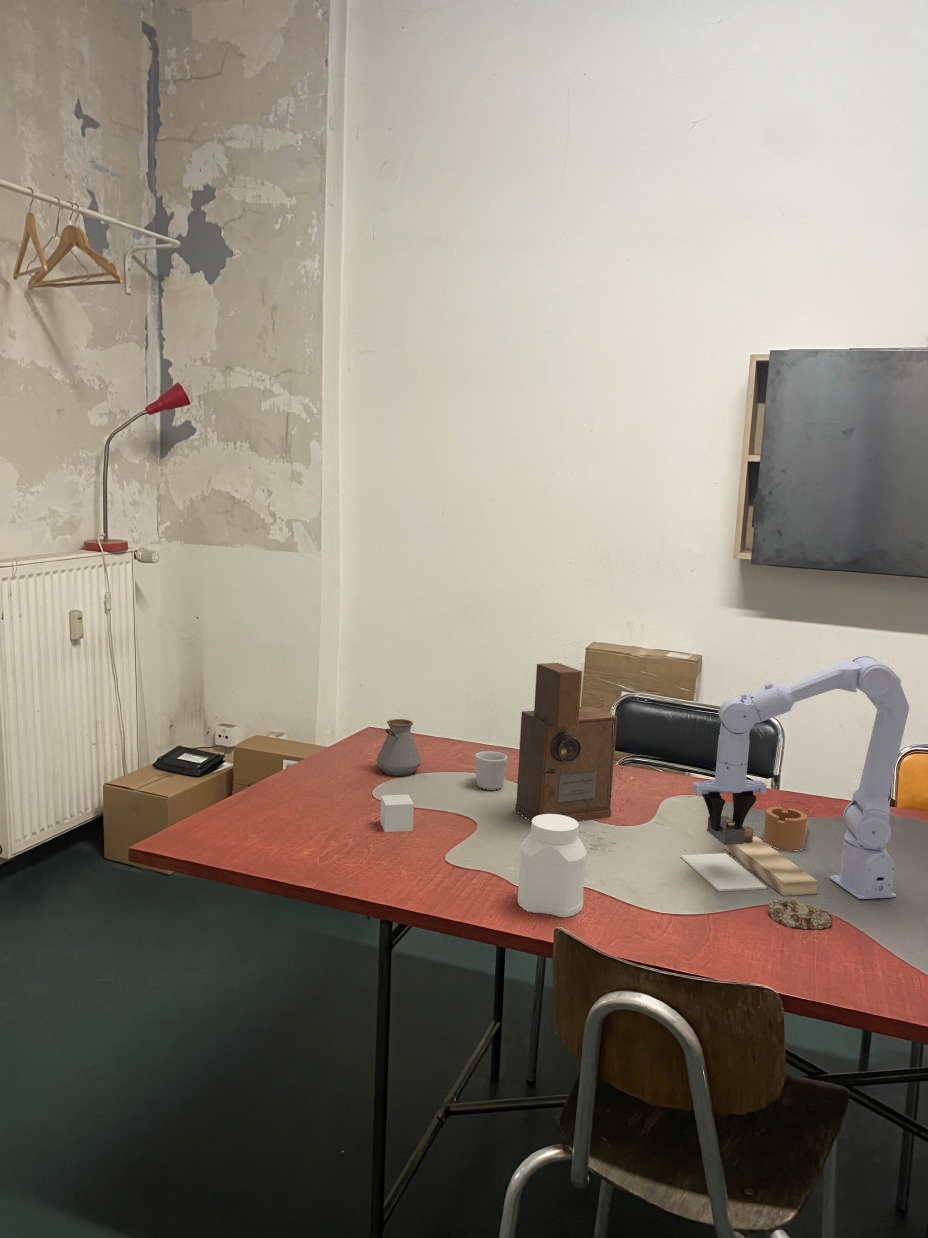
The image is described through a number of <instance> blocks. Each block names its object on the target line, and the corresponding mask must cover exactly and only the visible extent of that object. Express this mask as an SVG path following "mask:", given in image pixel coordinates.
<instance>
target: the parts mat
mask: <svg viewBox="0 0 928 1238" xmlns="http://www.w3.org/2000/svg"><path fill="white" fill-rule="evenodd" d="M679 857H680V858H681V859H682V860H683V861H684V862H685V861H686V862H687V863H688V864H689V865H688V864H687V863H686V862H685V863H686V864H687V865H688V866H690V868H692V869H693V870H694V871H695V872H696V873H697V874H698V875H699V876H700V877H701V878H702V879H703V880H705V881H706V882H707V883H708V884H709V885H710V886H711V887H712V888H714V889H715V890H716V891H717V892H733V891H734V892H736V891H751V890H752V891H755V890H767V889H768V886H766V885H765V884H764V883H763V882H761V881H760V879H758V878H757V877H756V876H754V875H753V874H752V873H751V872H749V871H748V870H747V869H745V867H743V866H742V865H741V864H740V863H738V862H737V861H736V860H734V858H732V857H731V856H730V855H728V853H723V852H722V853H720V852H719V853H704V854H702V853H699V854H680V856H679Z"/></svg>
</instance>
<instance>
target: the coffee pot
mask: <svg viewBox="0 0 928 1238" xmlns="http://www.w3.org/2000/svg"><path fill="white" fill-rule="evenodd" d="M386 723H387V726H388V727H389V728H385V729H383V730H382V731H381V736H382V737H384V738H385V739H384V742H383V745H382V747H381V749H380V751H379V753H378V755H377V756H376V760H375V761H376V764H377V765H378V767H379V769H381V770H382V771H383V773H385V774H386V775H390V776H395V777H397V776H398V777H399V776H401V777H402V776H403V777H404V776H410V775H412V774H413V773H414V772H415V771H416V770H417V769H419V768H420V766H421V764H422V758H421V755H420V753H419V749H418V747H417V745H416V742H415V740H414V737H413V734H412V732H411V729H412V726H413V725H414V722H413V721H412V720H409V719H403V718H396V719H389V720H387V721H386ZM384 731H385V733H387V736H386V737H385V735H383V732H384Z"/></svg>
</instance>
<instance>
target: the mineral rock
mask: <svg viewBox="0 0 928 1238" xmlns="http://www.w3.org/2000/svg"><path fill="white" fill-rule="evenodd" d="M768 905H769V906H768V911H767V912H768V913H769V914H770V917H771V919H772V920H773V921H775V922H777V923H779V924H781V925H784V926H785V927H787V928H789V929H790V928H795V929H797V928H798V929H800V930H806V929H807V930H808V929H809V930H823V929H825V928H826V929H827V928H829V927H830V926H832V925H833V922H832V921H833V919H834V918H833V917H832V915H831V913H830V912H829V911H828V910H825V909H820V908H817V907H816V906H813V905H811V904H807V903H801V901H800V900H799V899H798V898H796V897H790V902H789V901H788V900H785V899H783V900H779V899H777V900H769V901H768Z"/></svg>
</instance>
